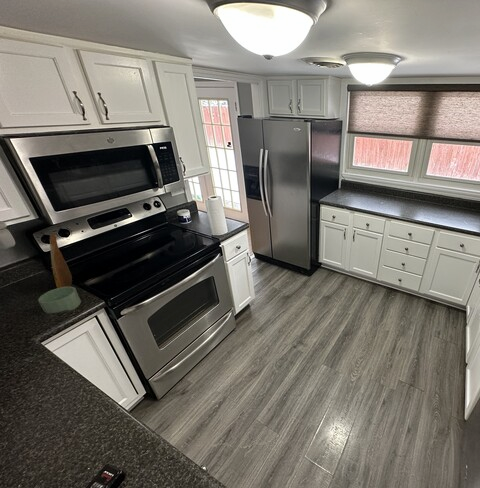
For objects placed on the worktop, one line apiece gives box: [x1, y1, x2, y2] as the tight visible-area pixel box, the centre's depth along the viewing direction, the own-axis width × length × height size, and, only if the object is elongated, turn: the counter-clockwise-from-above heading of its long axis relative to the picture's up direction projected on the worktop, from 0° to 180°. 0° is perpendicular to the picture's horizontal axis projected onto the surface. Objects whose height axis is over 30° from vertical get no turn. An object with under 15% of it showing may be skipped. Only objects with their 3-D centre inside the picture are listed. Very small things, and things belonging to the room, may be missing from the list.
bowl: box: [37, 286, 82, 314], centre depth 123 cm, size 13×13×8 cm
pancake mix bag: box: [49, 231, 73, 289], centre depth 136 cm, size 7×19×28 cm, turn 36°
